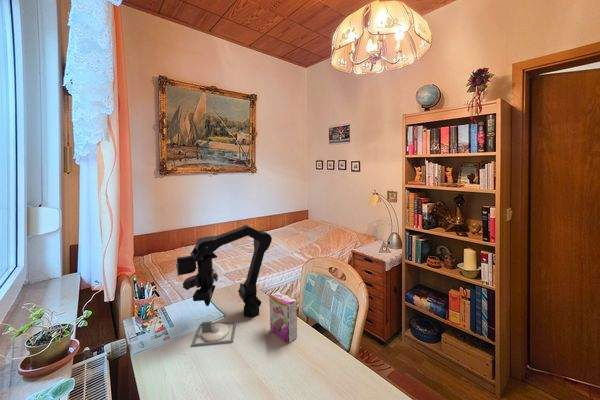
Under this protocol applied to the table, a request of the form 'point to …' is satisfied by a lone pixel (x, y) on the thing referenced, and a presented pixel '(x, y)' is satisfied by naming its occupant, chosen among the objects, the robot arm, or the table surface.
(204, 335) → the dial
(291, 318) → the candy bar box
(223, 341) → the panel
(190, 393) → the table surface
